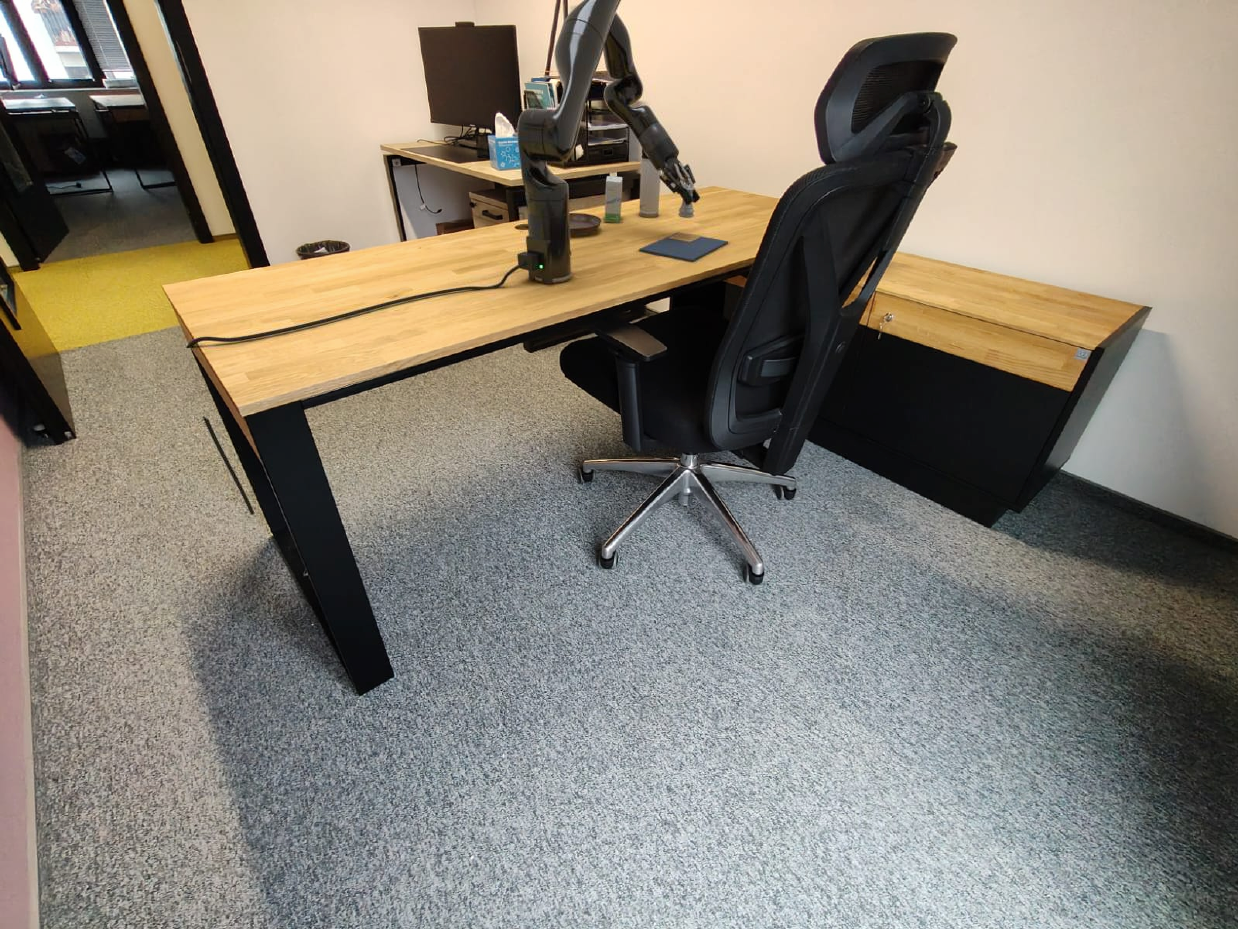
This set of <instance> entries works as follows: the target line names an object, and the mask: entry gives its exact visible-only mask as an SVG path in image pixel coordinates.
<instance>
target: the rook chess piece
mask: <svg viewBox="0 0 1238 929" xmlns="http://www.w3.org/2000/svg"><path fill="white" fill-rule="evenodd" d="M684 185H685V187H686V188H687V190H688V191H689V193H690V195H691V196H693V194H692V192H693V190H694V188H695V187H694V186H693V184H692V185H691V184H689V185H688V184H684ZM686 188H685V189H686ZM694 212H695V209H694V206H693V202H692V203H691V204H690V205H686V203H685V202H684V200H683V199H682V202H681V205H680V207H679V209H678V217H679V218H685V219H690V218H691V219H692V218H694V216H695V214H694Z"/></svg>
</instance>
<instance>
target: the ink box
mask: <svg viewBox="0 0 1238 929" xmlns="http://www.w3.org/2000/svg"><path fill="white" fill-rule="evenodd" d="M622 199H623V177H622V176H610V175H607V176H606V180H605V197H604V223H616V224H617V223H618V224H620V223H621V216H622V201H623V200H622Z"/></svg>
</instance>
